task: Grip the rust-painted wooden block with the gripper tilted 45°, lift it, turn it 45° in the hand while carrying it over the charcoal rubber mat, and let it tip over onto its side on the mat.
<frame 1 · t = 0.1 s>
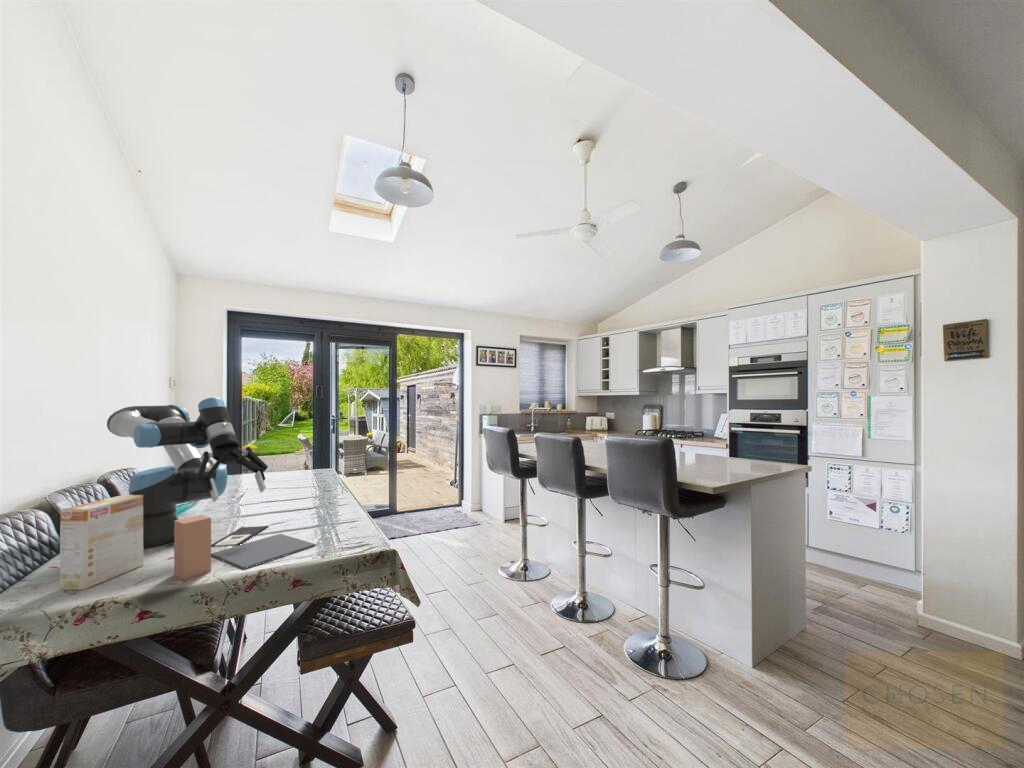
hand: (240, 494, 131), 15 cm above the table, tool tilted 35°, fingers open, 13 cm apart
chocolate bar: (241, 538, 138), on the table
wooden block: (192, 572, 109), on the table
rubber mat: (264, 550, 124), on the table
coffeecake box: (104, 577, 107), on the table
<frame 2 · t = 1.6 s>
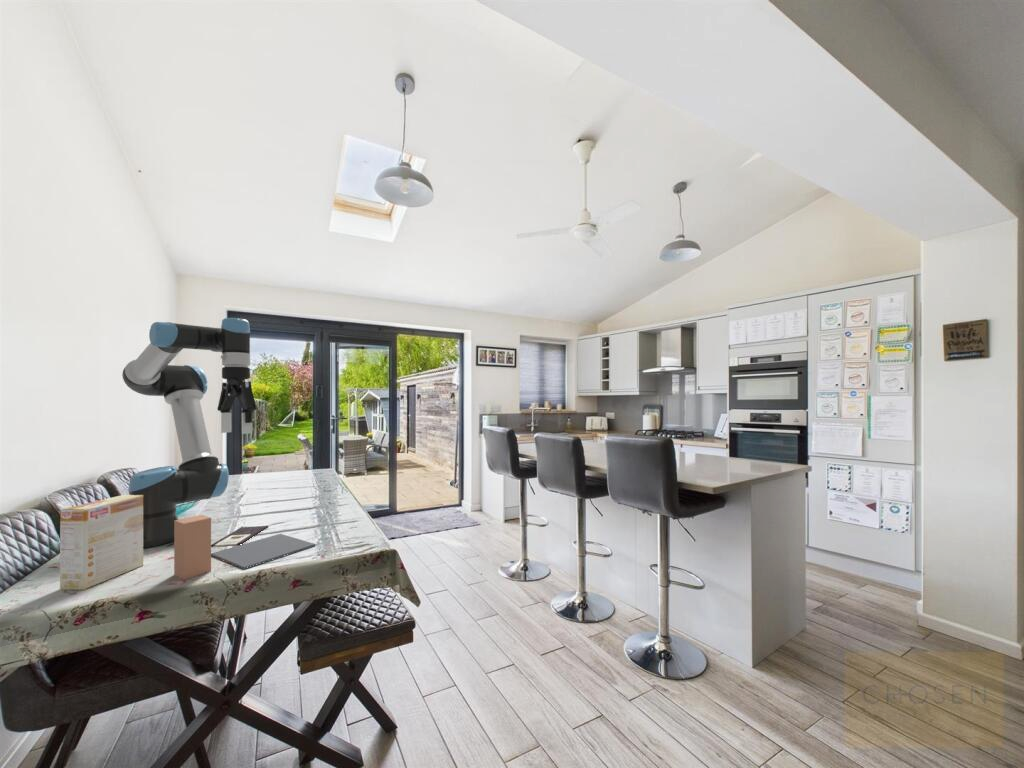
hand: (236, 433, 132), 35 cm above the table, tool pointing down, fingers open, 13 cm apart
nothing on the table moved.
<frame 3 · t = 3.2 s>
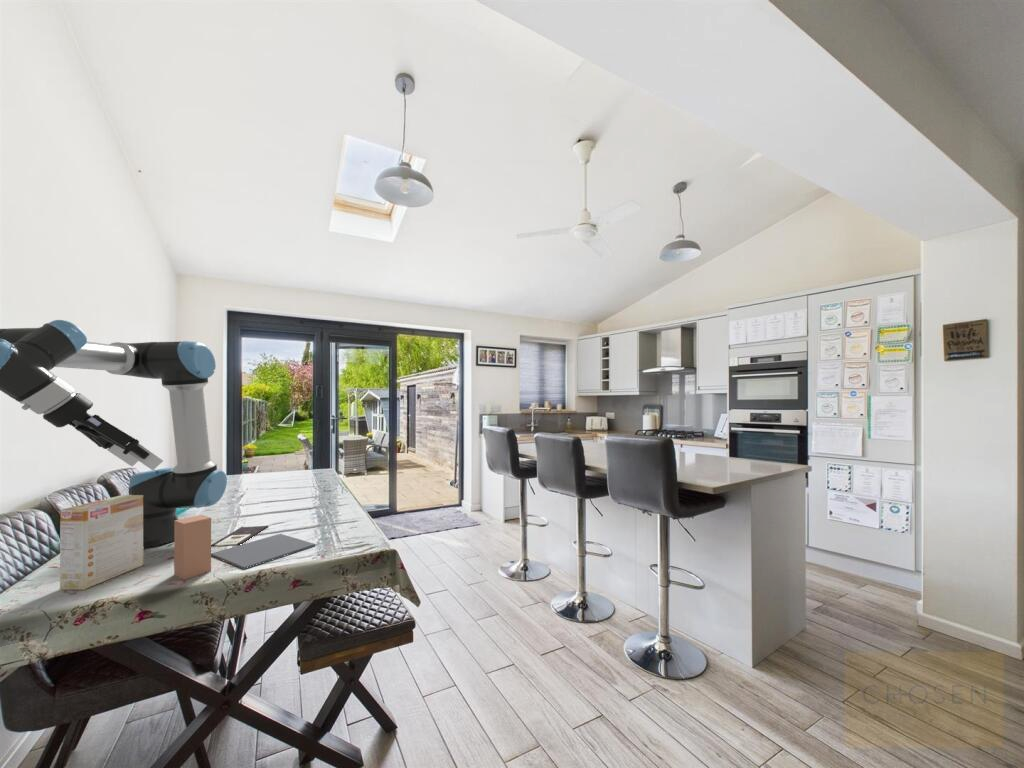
hand: (147, 463, 102), 30 cm above the table, tool tilted 45°, fingers open, 13 cm apart
nothing on the table moved.
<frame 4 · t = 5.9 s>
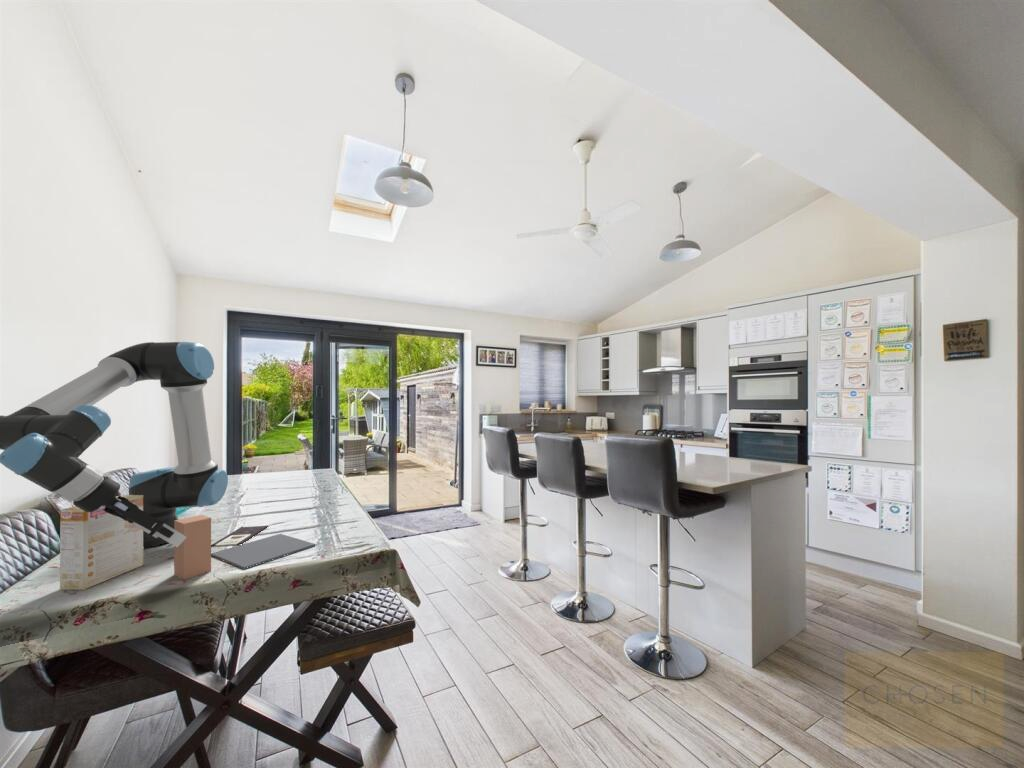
hand: (171, 537, 104), 11 cm above the table, tool tilted 45°, fingers open, 13 cm apart
nothing on the table moved.
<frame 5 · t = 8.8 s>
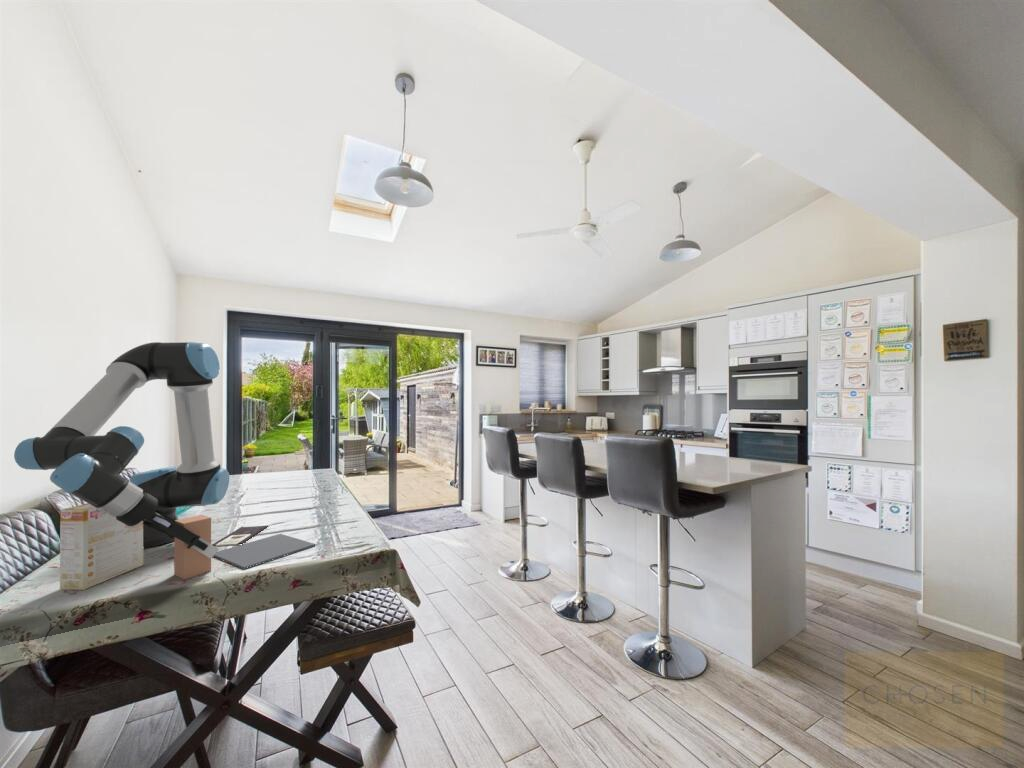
hand: (208, 551, 112), 4 cm above the table, tool tilted 45°, fingers closed on wooden block, 6 cm apart
wooden block: (192, 572, 109), on the table, touching gripper
everything else where it was.
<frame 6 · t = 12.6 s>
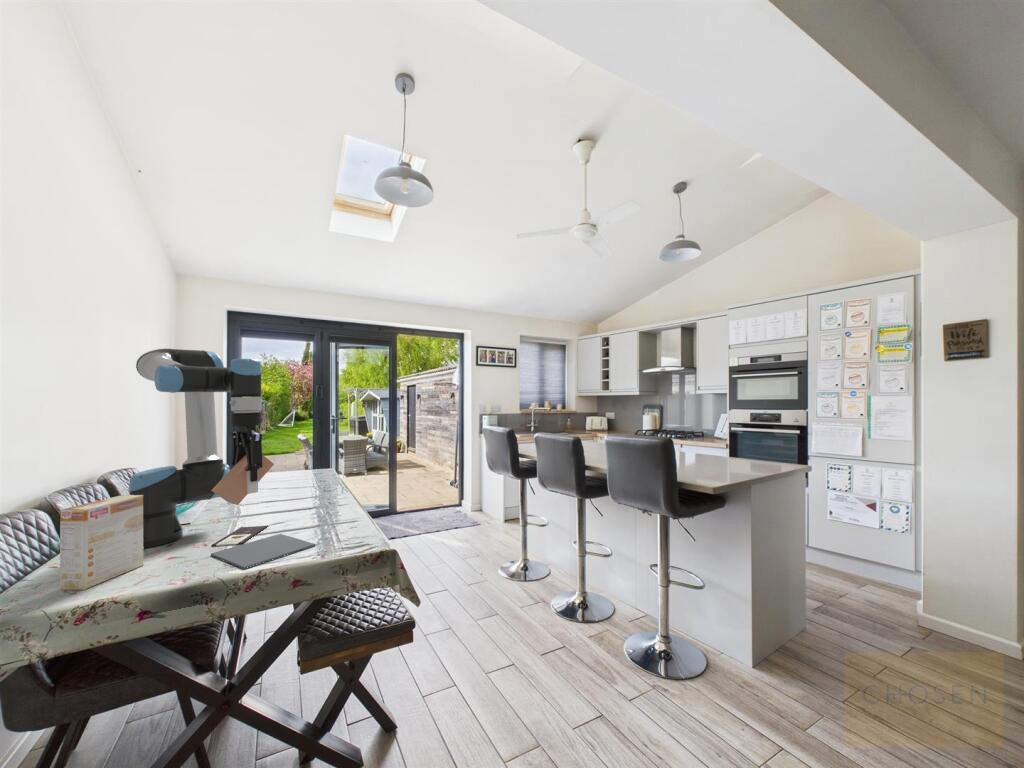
hand: (246, 491, 120), 19 cm above the table, tool pointing down, fingers closed on wooden block, 6 cm apart
wooden block: (224, 497, 115), point 18 cm above the table, tilted 45°, touching gripper
everything else where it was.
when the fingers open (5 cm above the table, at t = 16.1 s): wooden block moves 2 cm and tips over, resting on rubber mat.
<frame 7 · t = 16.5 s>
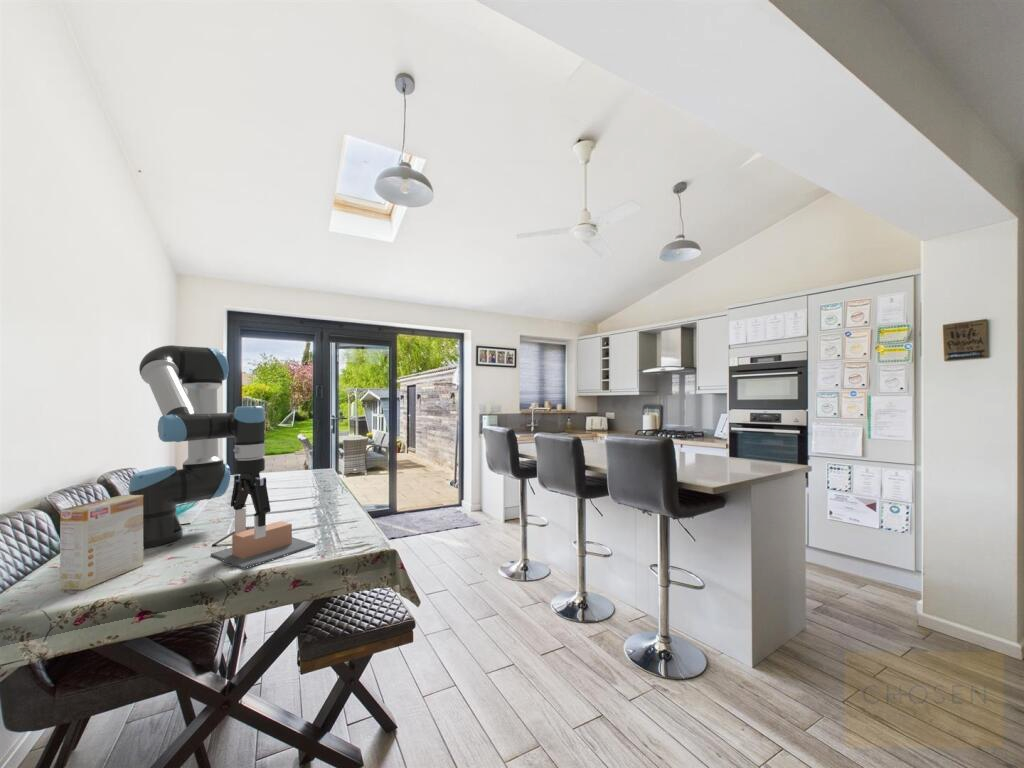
hand: (249, 534, 121), 6 cm above the table, tool pointing down, fingers open, 11 cm apart
wooden block: (237, 546, 118), point 4 cm above the table, tilted 90°, touching rubber mat
everything else where it was.
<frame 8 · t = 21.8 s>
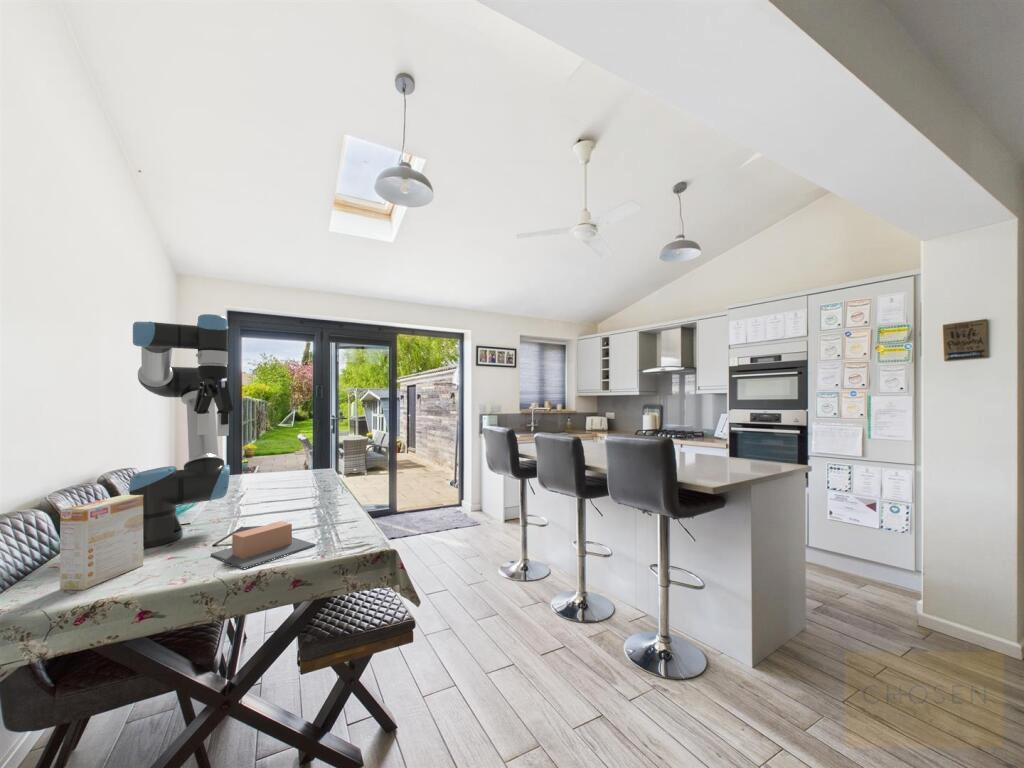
hand: (212, 435, 126), 35 cm above the table, tool pointing down, fingers open, 13 cm apart
nothing on the table moved.
at the end: wooden block tilted 90°; wooden block inside the target area (7.4 cm from its centre), point 3.6 cm above the table; wooden block touching rubber mat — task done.
